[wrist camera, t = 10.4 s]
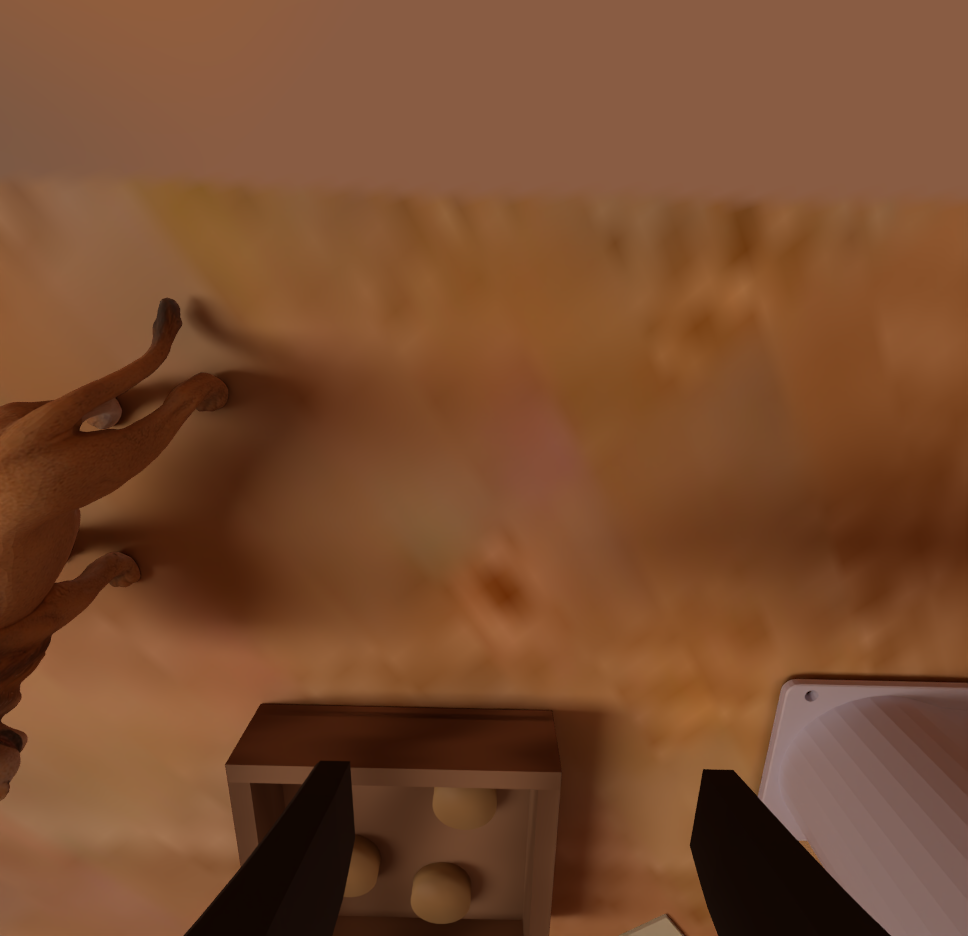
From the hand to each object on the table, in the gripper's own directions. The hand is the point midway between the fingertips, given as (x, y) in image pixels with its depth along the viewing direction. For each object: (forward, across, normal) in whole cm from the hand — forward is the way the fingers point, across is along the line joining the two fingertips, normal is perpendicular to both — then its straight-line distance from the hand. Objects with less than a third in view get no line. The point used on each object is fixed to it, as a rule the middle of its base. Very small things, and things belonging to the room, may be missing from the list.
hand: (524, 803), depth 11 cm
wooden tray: (+9, +4, +12) cm, 16 cm away
